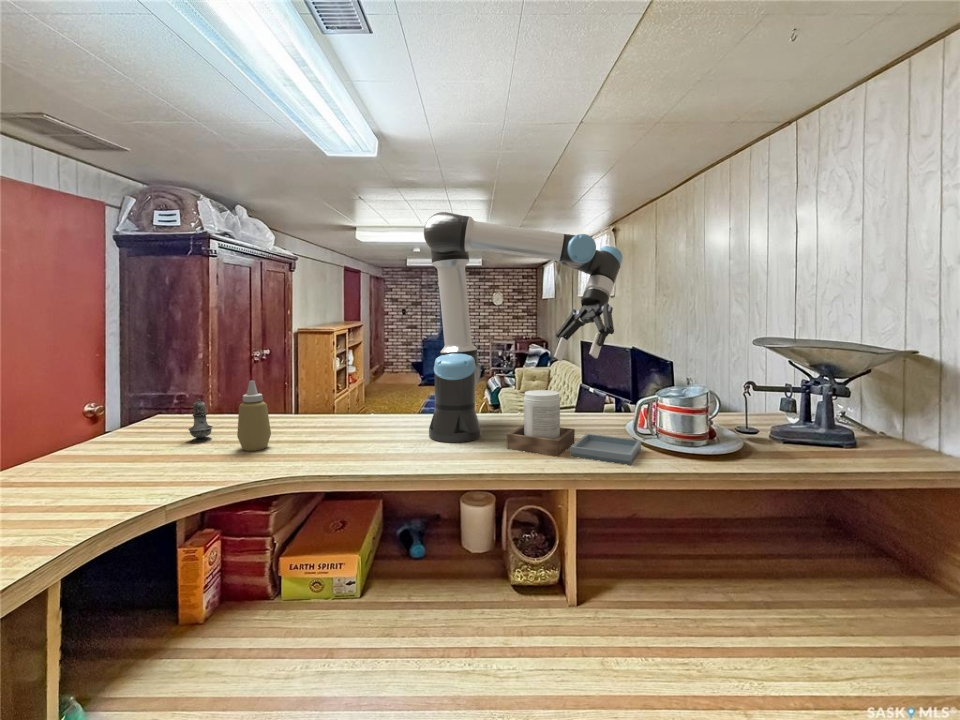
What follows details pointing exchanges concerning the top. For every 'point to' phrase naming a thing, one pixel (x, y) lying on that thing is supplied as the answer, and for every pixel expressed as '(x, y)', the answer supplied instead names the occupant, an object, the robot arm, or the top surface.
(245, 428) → the squeeze bottle
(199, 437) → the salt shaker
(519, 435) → the tray
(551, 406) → the supplement tub
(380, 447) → the top surface
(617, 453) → the tray
